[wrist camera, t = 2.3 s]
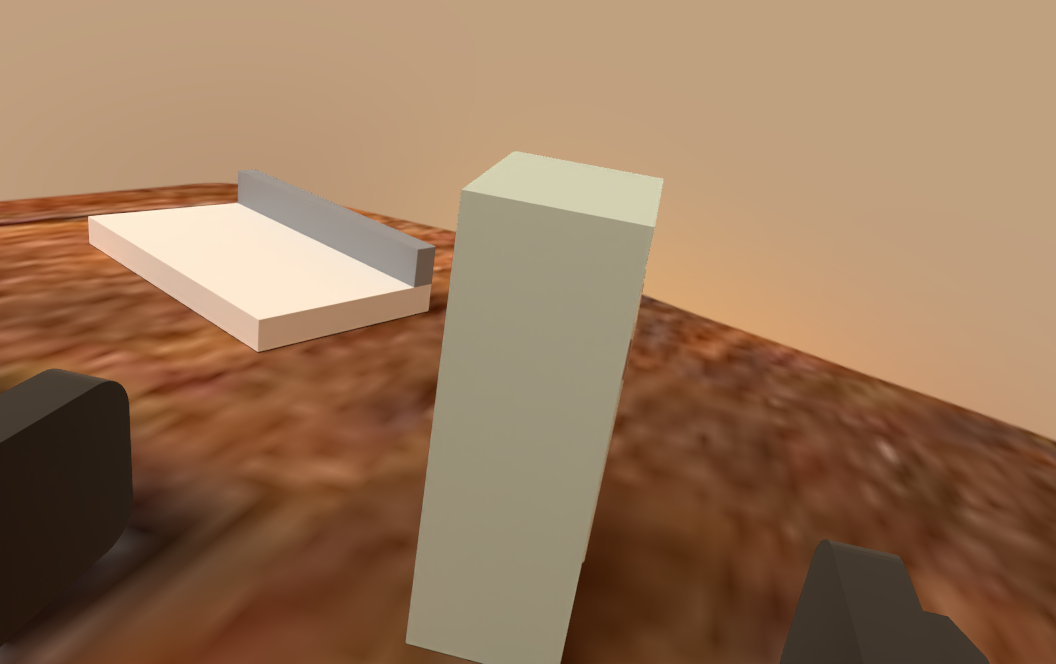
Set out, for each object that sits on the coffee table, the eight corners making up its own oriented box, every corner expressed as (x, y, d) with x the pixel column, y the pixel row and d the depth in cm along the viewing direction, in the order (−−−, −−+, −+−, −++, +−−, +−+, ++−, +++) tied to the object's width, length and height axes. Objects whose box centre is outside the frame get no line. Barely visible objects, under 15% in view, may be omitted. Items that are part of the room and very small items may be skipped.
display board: (257, 351, 36) (259, 275, 34) (89, 243, 45) (86, 179, 43) (431, 310, 43) (438, 246, 42) (257, 224, 52) (259, 169, 51)
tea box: (405, 643, 21) (461, 189, 17) (460, 524, 26) (514, 150, 22) (559, 683, 21) (658, 227, 16) (584, 554, 26) (666, 179, 22)
